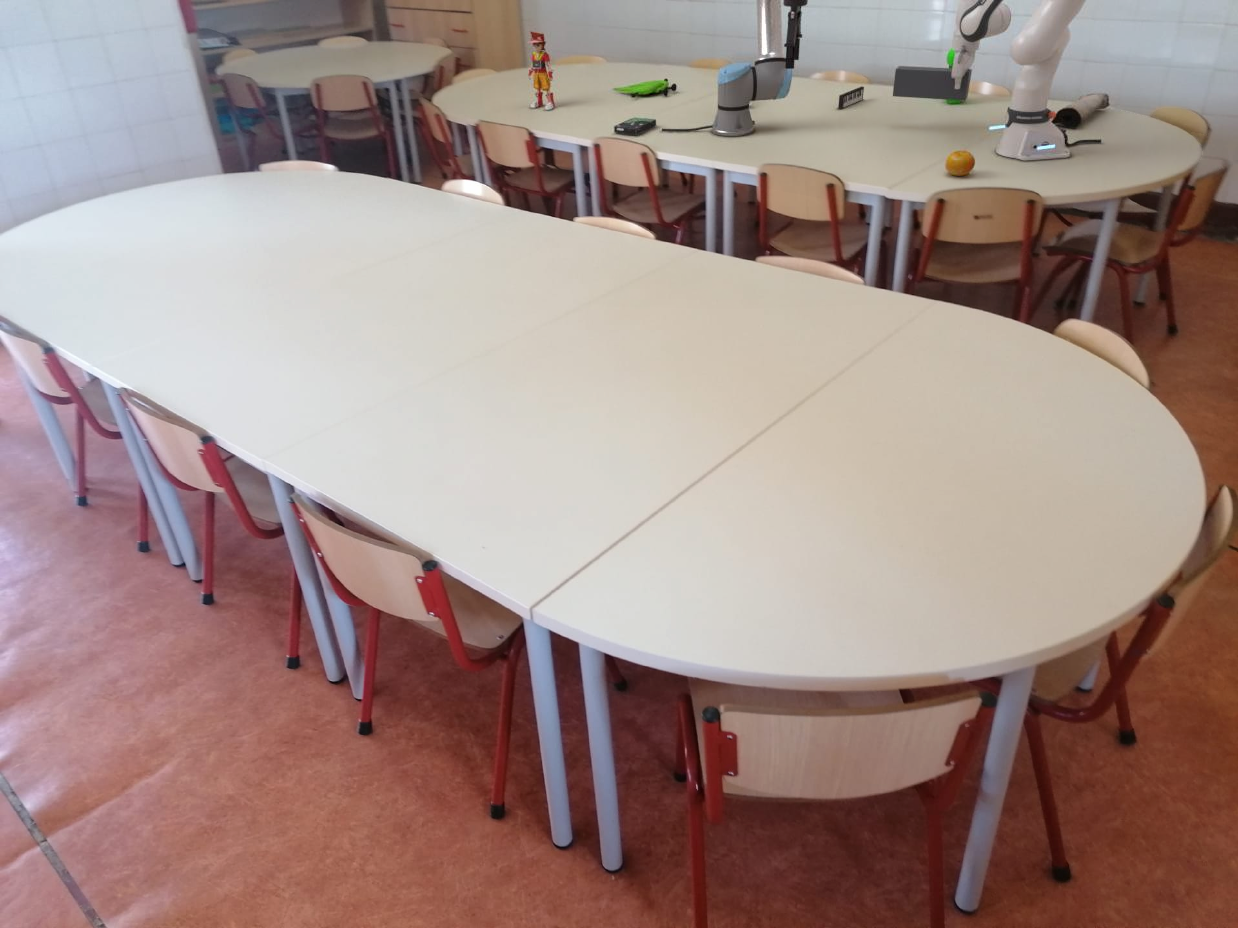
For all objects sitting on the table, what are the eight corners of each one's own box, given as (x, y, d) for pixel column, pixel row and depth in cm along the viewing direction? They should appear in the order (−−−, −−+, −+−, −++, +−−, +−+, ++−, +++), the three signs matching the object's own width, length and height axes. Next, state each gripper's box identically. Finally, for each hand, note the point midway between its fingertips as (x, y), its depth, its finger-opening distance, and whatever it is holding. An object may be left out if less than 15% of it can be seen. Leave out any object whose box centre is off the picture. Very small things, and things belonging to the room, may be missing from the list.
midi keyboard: (840, 109, 355) (842, 95, 352) (838, 108, 355) (839, 95, 353) (863, 99, 365) (864, 86, 362) (860, 99, 366) (861, 86, 363)
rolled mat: (1076, 98, 337) (1101, 81, 329) (1090, 118, 338) (1115, 102, 330) (1045, 119, 320) (1071, 102, 312) (1060, 141, 321) (1085, 124, 312)
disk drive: (637, 136, 338) (656, 126, 348) (636, 129, 336) (656, 118, 346) (613, 134, 342) (633, 123, 352) (613, 126, 341) (633, 116, 351)
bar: (892, 96, 323) (895, 69, 317) (895, 93, 327) (899, 66, 321) (964, 100, 313) (969, 72, 307) (967, 97, 316) (972, 69, 311)
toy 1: (525, 109, 381) (517, 32, 364) (534, 104, 388) (527, 28, 371) (550, 110, 377) (543, 32, 360) (559, 105, 384) (553, 28, 367)
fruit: (939, 166, 278) (957, 142, 275) (940, 168, 286) (957, 145, 283) (962, 181, 277) (980, 158, 274) (962, 183, 285) (979, 160, 282)
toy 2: (686, 85, 398) (631, 84, 414) (685, 72, 395) (629, 72, 411) (651, 104, 381) (596, 103, 397) (650, 92, 378) (594, 91, 394)
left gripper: (804, -3, 270) (799, 72, 282) (812, -15, 290) (807, 56, 302) (779, -3, 272) (775, 72, 284) (788, -14, 292) (785, 56, 304)
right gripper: (970, 50, 297) (963, 94, 305) (980, 38, 312) (973, 81, 320) (950, 49, 300) (944, 93, 307) (961, 38, 314) (955, 80, 322)
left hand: (792, 64), depth 293 cm, fingers open, 13 cm apart
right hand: (959, 86), depth 314 cm, fingers closed on bar, 5 cm apart
